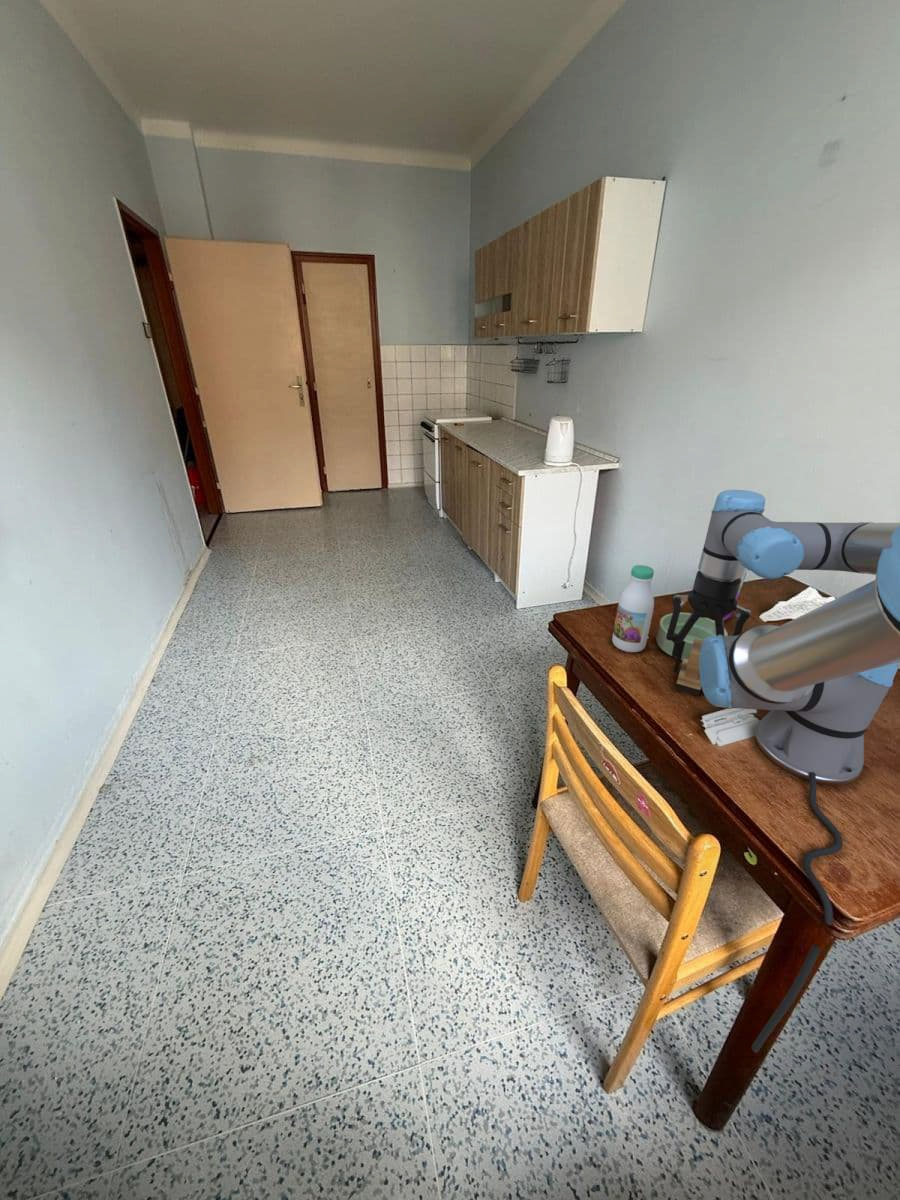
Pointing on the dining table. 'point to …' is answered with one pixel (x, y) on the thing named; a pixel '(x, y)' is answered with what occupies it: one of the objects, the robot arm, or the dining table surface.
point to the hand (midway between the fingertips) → (691, 673)
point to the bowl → (698, 631)
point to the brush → (690, 671)
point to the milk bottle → (634, 611)
